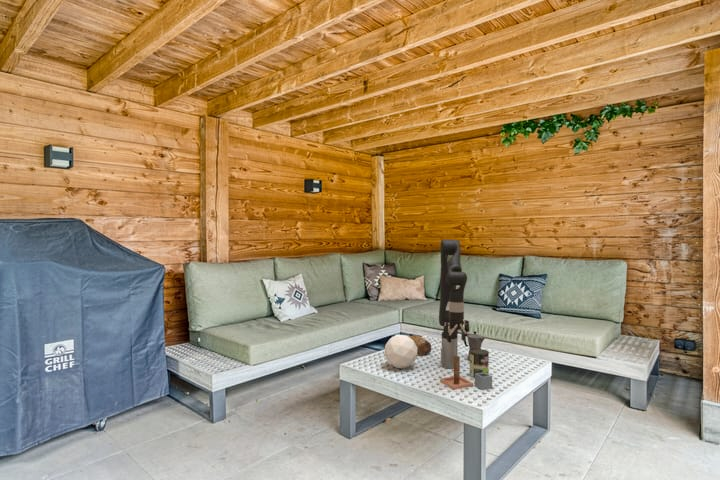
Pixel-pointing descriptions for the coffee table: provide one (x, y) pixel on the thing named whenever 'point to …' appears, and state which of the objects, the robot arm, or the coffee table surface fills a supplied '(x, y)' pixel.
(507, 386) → the coffee table surface
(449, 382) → the tray
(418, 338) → the petrified wood
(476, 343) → the coffeepot
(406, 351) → the geometric orb
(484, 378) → the holder
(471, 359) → the coffee can
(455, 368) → the dowel
